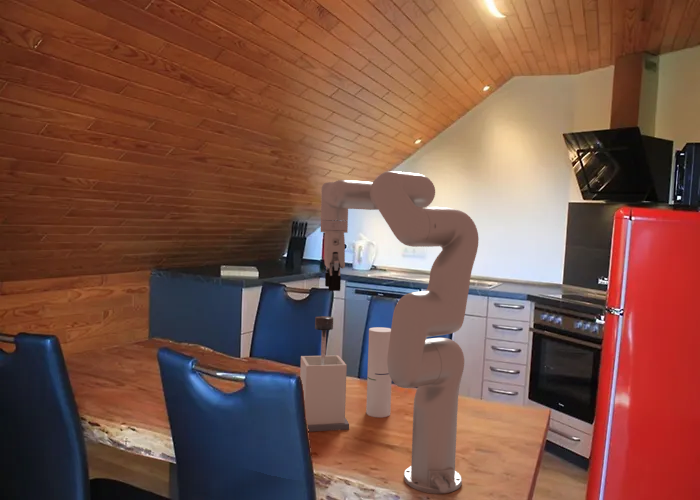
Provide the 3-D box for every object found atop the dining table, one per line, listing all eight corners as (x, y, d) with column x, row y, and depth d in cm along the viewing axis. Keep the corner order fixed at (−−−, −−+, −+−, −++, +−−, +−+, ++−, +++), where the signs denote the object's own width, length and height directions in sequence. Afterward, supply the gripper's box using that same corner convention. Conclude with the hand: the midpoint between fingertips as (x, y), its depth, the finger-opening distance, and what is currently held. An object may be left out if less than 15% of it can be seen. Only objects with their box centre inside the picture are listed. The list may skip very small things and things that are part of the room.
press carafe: (349, 429, 153) (351, 365, 152) (301, 431, 150) (303, 367, 149) (339, 413, 166) (341, 354, 165) (295, 415, 163) (296, 355, 162)
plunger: (340, 398, 154) (342, 320, 153) (309, 399, 152) (311, 320, 151) (334, 388, 163) (336, 315, 162) (304, 390, 161) (306, 315, 160)
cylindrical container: (388, 418, 163) (391, 332, 161) (364, 416, 164) (367, 330, 163) (391, 410, 170) (394, 328, 168) (368, 408, 171) (371, 326, 170)
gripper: (351, 227, 148) (350, 292, 149) (343, 227, 165) (342, 285, 166) (323, 227, 147) (321, 292, 148) (318, 226, 164) (316, 285, 165)
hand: (332, 288), depth 157 cm, fingers open, 9 cm apart
